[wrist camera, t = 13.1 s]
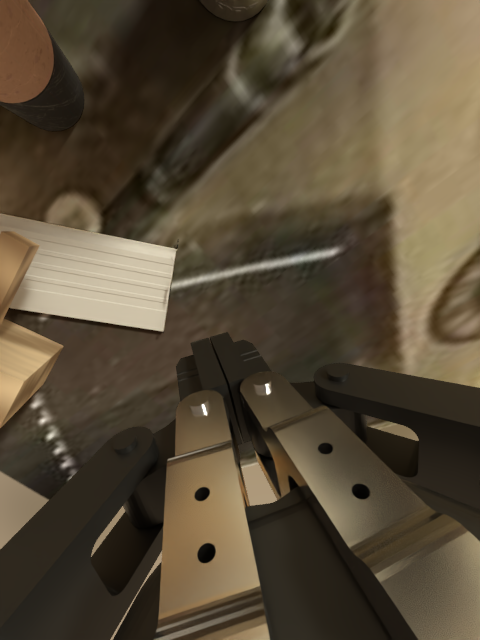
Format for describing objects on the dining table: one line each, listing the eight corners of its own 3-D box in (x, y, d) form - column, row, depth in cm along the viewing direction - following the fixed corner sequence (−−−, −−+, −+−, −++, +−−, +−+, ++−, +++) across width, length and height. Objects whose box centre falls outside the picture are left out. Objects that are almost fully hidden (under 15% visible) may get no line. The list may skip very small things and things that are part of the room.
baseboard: (-116, 174, 33) (-110, 285, 36) (-144, 169, 30) (-135, 290, 33) (179, 237, 39) (165, 328, 42) (178, 237, 36) (163, 335, 39)
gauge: (5, 207, 35) (-71, 197, 25) (107, 264, 38) (77, 276, 28) (-57, 341, 38) (-150, 381, 28) (43, 384, 41) (-7, 434, 31)
